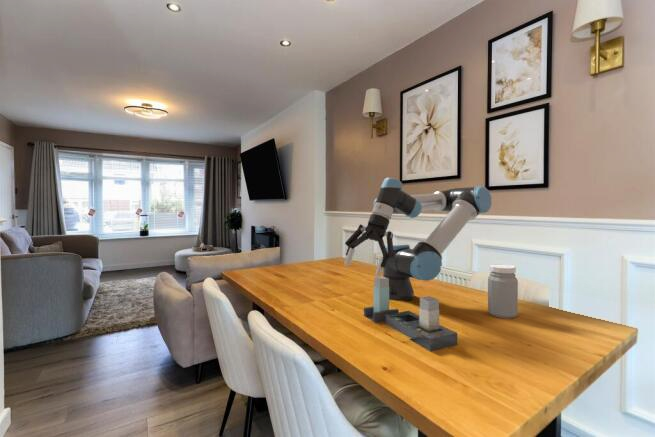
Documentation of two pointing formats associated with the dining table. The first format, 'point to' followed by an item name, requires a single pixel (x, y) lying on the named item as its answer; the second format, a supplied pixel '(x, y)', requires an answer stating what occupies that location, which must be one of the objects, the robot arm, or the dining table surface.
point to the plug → (381, 294)
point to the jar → (503, 291)
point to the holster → (377, 314)
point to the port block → (423, 326)
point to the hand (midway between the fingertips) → (361, 270)
